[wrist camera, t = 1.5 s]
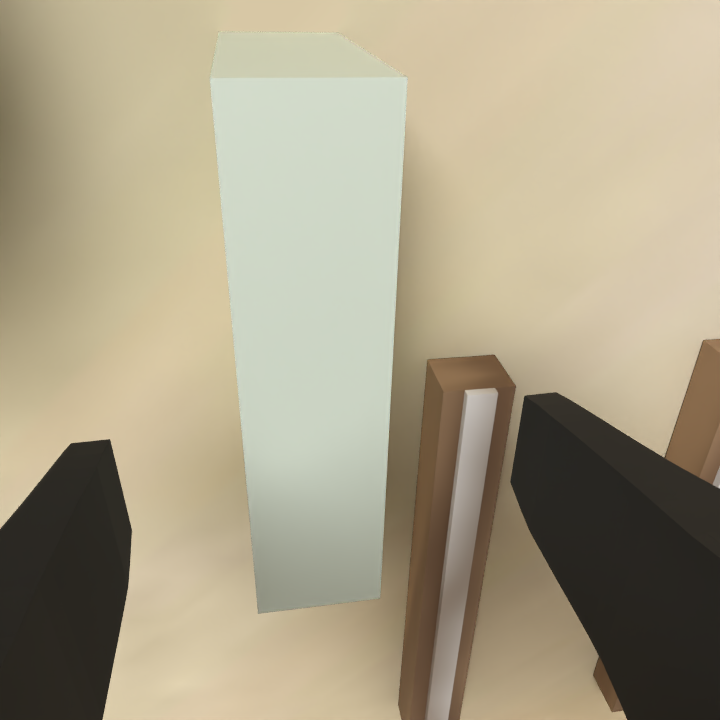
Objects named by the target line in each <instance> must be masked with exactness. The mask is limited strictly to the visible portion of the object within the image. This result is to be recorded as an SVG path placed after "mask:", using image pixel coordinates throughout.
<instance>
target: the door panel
mask: <svg viewBox="0 0 720 720" xmlns="http://www.w3.org/2000/svg"><path fill="white" fill-rule="evenodd" d="M407 81H408V77H406V76H405V75H403V74H402V73H400V72H399V71H397V70H395V69H394V68H392V67H391V66H389V65H388V64H386V63H385V62H383V61H382V60H380V59H378V58H377V57H375V56H374V55H372V54H371V53H369V52H368V51H366V50H365V49H363V48H362V47H360V46H358V45H357V44H355V43H354V42H352V41H351V40H349V39H348V38H346V37H345V36H343V35H341V34H340V33H338V32H235V31H219V33H218V39H217V44H216V49H215V54H214V59H213V64H212V69H211V74H210V86H211V97H212V108H213V119H214V130H215V141H216V152H217V163H218V174H219V185H220V196H221V208H222V219H223V230H224V241H225V252H226V263H227V274H228V285H229V296H230V307H231V318H232V329H233V340H234V351H235V363H236V374H237V385H238V396H239V407H240V418H241V429H242V440H243V451H244V462H245V473H246V484H247V495H248V506H249V517H250V529H251V540H252V551H253V562H254V573H255V584H256V595H257V606H258V614H260V613H268V612H276V611H284V610H292V609H300V608H308V607H316V606H324V605H332V604H340V603H348V602H356V601H364V600H372V599H380V592H381V573H382V554H383V535H384V516H385V497H386V478H387V459H388V440H389V422H390V403H391V384H392V365H393V346H394V327H395V308H396V289H397V270H398V251H399V233H400V214H401V195H402V176H403V157H404V138H405V119H406V100H407Z"/></svg>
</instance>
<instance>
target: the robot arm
mask: <svg viewBox="0 0 720 720" xmlns="http://www.w3.org/2000/svg"><path fill="white" fill-rule="evenodd" d="M510 482H511V485H512V487H513V490H514V493H515V495H516V498H517V501H518V503H519V506H520V509H521V511H522V514H523V516H524V518H525V521H526V523H527V526H528V528H529V530H530V532H531V534H532V536H533V538H534V540H535V541H536V543H537V545H538V547H539V549H540V550H541V552H542V554H543V556H544V558H545V560H546V561H547V563H548V565H549V567H550V568H551V570H552V572H553V574H554V576H555V577H556V579H557V581H558V583H559V584H560V586H561V588H562V590H563V591H564V593H565V595H566V597H567V598H568V600H569V602H570V604H571V605H572V607H573V609H574V611H575V613H576V614H577V616H578V618H579V620H580V621H581V623H582V625H583V627H584V628H585V630H586V632H587V634H588V635H589V637H590V639H591V641H592V643H593V645H594V647H595V649H596V651H597V653H598V655H599V657H600V659H601V661H602V663H603V665H604V667H605V670H606V672H607V674H608V677H609V679H610V681H611V683H612V686H613V688H614V690H615V692H616V695H617V697H618V699H619V702H620V704H621V706H622V708H623V711H624V713H625V715H626V718H627V720H720V488H718V487H716V486H714V485H712V484H710V483H708V482H707V481H705V480H703V479H701V478H699V477H697V476H696V475H694V474H692V473H690V472H688V471H686V470H685V469H683V468H681V467H679V466H678V465H676V464H674V463H672V462H671V461H669V460H667V459H665V458H664V457H662V456H660V455H659V454H657V453H655V452H654V451H652V450H650V449H649V448H647V447H645V446H644V445H642V444H640V443H639V442H637V441H635V440H634V439H632V438H631V437H629V436H627V435H626V434H624V433H623V432H621V431H619V430H618V429H616V428H615V427H613V426H611V425H610V424H608V423H607V422H605V421H603V420H602V419H600V418H599V417H597V416H595V415H594V414H592V413H591V412H589V411H587V410H586V409H584V408H582V407H581V406H579V405H577V404H576V403H574V402H572V401H571V400H569V399H567V398H565V397H564V396H562V395H560V394H558V393H546V394H537V395H527V396H524V402H523V408H522V414H521V420H520V426H519V433H518V439H517V445H516V451H515V457H514V463H513V469H512V475H511V481H510ZM131 535H132V529H131V525H130V521H129V516H128V512H127V508H126V504H125V500H124V496H123V491H122V487H121V483H120V479H119V475H118V471H117V466H116V462H115V458H114V454H113V450H112V446H111V441H110V439H109V440H99V441H90V442H80V443H71V444H70V445H69V446H68V447H67V448H66V450H65V451H64V452H63V453H62V454H61V456H60V457H59V458H58V459H57V461H56V462H55V463H54V464H53V466H52V467H51V468H50V469H49V471H48V472H47V473H46V474H45V476H44V477H43V478H42V479H41V481H40V482H39V483H38V484H37V486H36V487H35V488H34V489H33V491H32V492H31V493H30V494H29V495H28V497H27V498H26V499H25V500H24V502H23V503H22V504H21V505H20V506H19V508H18V509H17V510H16V511H15V512H14V514H13V515H12V516H11V517H10V518H9V519H8V521H7V522H6V523H5V524H4V525H3V526H2V528H1V529H0V720H102V719H103V714H104V709H105V704H106V699H107V693H108V688H109V683H110V678H111V673H112V668H113V663H114V658H115V653H116V648H117V643H118V637H119V632H120V627H121V622H122V617H123V611H124V606H125V601H126V595H127V590H128V582H129V568H130V553H131Z"/></svg>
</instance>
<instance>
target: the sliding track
mask: <svg viewBox="0 0 720 720" xmlns="http://www.w3.org/2000/svg"><path fill="white" fill-rule="evenodd" d="M515 388H516V386H515V384H514V383H513V381H512V380H511V378H510V377H509V375H508V374H507V372H506V371H505V369H504V368H503V367H502V365H501V364H500V362H499V361H498V359H497V358H496V356H495V355H486V356H472V357H458V358H444V359H429V360H427V372H426V383H425V395H424V407H423V419H422V431H421V443H420V454H419V466H418V478H417V490H416V502H415V513H414V525H413V537H412V549H411V561H410V573H409V584H408V596H407V608H406V620H405V632H404V643H403V655H402V667H401V679H400V691H399V702H398V706H399V710H400V715H401V719H402V720H459V719H460V713H461V707H462V701H463V696H464V690H465V684H466V678H467V672H468V666H469V660H470V654H471V648H472V642H473V636H474V630H475V625H476V619H477V613H478V607H479V601H480V595H481V589H482V583H483V577H484V571H485V565H486V560H487V554H488V548H489V542H490V536H491V530H492V524H493V518H494V512H495V506H496V500H497V494H498V489H499V483H500V477H501V471H502V465H503V459H504V453H505V447H506V441H507V435H508V429H509V423H510V418H511V412H512V406H513V400H514V394H515ZM665 459H667V460H669V461H671V462H672V463H674V464H676V465H678V466H679V467H681V468H683V469H685V470H686V471H688V472H690V473H692V474H694V475H696V476H697V477H699V478H701V479H703V480H705V481H707V482H708V483H710V484H712V485H714V486H716V487H718V488H720V339H714V340H704V341H703V345H702V348H701V351H700V354H699V357H698V360H697V363H696V366H695V369H694V372H693V375H692V378H691V381H690V384H689V387H688V390H687V393H686V396H685V399H684V402H683V405H682V408H681V411H680V414H679V417H678V420H677V423H676V426H675V429H674V432H673V435H672V438H671V441H670V444H669V447H668V450H667V454H666V457H665ZM593 676H594V678H595V680H596V682H597V684H598V686H599V688H600V690H601V691H602V693H603V695H604V697H605V699H606V701H607V703H608V705H609V707H610V709H611V711H612V712H616V711H622V710H623V708H622V706H621V704H620V702H619V699H618V697H617V695H616V692H615V690H614V688H613V686H612V683H611V681H610V679H609V677H608V674H607V672H606V670H605V667H604V665H603V663H602V661H601V659H600V657H599V659H598V662H597V665H596V668H595V671H594V675H593Z"/></svg>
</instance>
